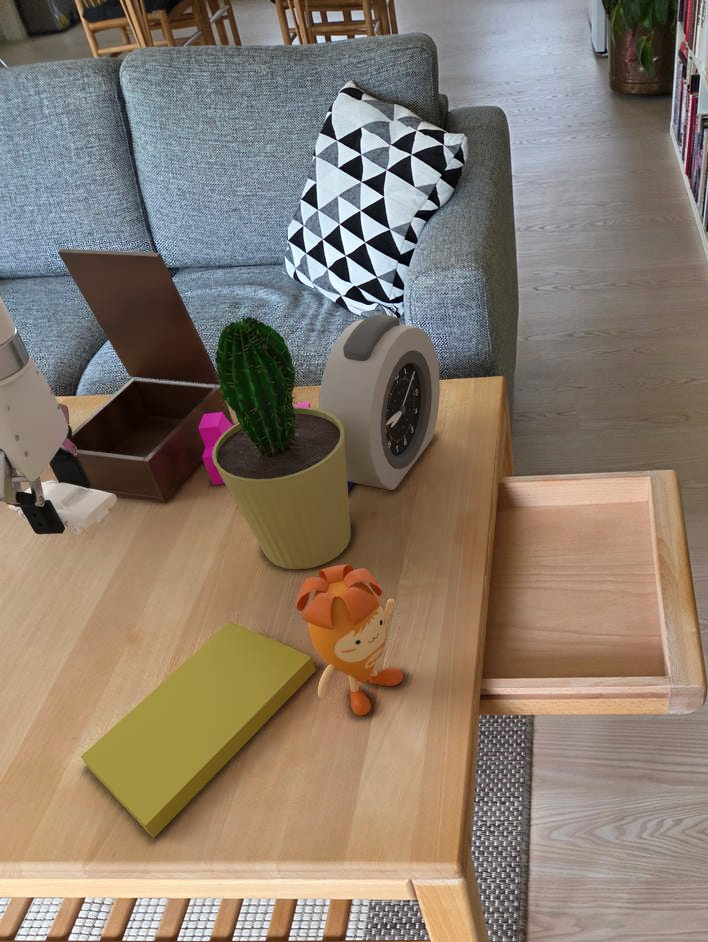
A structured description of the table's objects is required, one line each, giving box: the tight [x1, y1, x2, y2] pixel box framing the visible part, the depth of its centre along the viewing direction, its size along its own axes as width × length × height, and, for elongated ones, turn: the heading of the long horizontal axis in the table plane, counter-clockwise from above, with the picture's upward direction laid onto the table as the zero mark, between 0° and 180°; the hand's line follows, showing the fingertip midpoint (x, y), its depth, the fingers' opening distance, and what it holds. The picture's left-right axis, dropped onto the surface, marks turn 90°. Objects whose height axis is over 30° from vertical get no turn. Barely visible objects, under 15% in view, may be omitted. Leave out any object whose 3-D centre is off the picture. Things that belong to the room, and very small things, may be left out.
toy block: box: [198, 401, 312, 485], centre depth 121 cm, size 15×6×8 cm, turn 91°
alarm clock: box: [317, 313, 441, 491], centre depth 115 cm, size 21×8×20 cm, turn 158°
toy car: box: [7, 480, 118, 536], centre depth 93 cm, size 6×12×3 cm, turn 67°
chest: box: [72, 377, 235, 503], centre depth 126 cm, size 20×16×7 cm
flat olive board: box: [80, 620, 317, 839], centre depth 90 cm, size 12×2×24 cm
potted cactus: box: [207, 309, 352, 570], centre depth 100 cm, size 15×15×30 cm
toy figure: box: [295, 564, 404, 717], centre depth 87 cm, size 12×8×15 cm, turn 141°
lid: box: [57, 248, 220, 386], centre depth 121 cm, size 20×16×1 cm
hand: (64, 508), depth 94 cm, fingers closed on toy car, 6 cm apart
